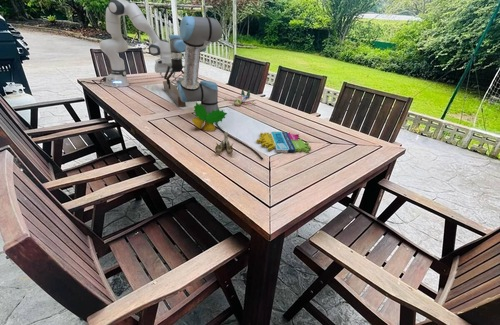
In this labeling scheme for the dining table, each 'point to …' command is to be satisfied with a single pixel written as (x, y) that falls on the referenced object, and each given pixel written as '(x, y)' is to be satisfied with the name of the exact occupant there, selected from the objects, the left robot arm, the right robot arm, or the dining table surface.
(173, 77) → the airplane
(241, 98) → the toy
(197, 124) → the ornament
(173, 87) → the post
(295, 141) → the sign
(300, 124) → the dining table surface
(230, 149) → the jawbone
